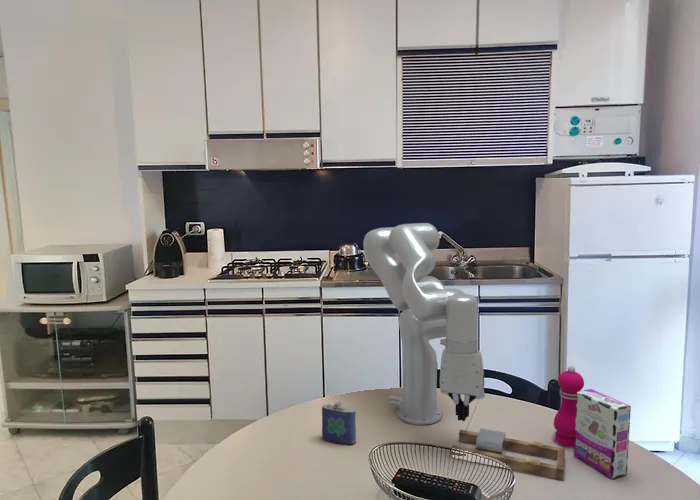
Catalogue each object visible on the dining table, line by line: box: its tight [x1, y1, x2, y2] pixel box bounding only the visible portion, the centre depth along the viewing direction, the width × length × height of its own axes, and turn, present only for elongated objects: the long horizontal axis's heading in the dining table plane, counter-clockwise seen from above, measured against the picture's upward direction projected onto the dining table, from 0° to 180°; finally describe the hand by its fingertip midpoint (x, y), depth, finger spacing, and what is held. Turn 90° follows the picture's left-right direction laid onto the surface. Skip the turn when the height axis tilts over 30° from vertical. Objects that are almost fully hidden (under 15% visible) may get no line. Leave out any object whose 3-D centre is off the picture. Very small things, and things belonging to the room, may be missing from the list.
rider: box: [475, 427, 506, 455], centre depth 127 cm, size 6×6×5 cm
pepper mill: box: [553, 365, 585, 448], centre depth 132 cm, size 7×7×20 cm
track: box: [450, 429, 566, 481], centre depth 125 cm, size 25×10×3 cm, turn 66°
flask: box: [321, 400, 357, 446], centre depth 134 cm, size 9×3×11 cm, turn 68°
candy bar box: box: [573, 388, 632, 480], centre depth 121 cm, size 11×5×16 cm, turn 23°
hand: (462, 418), depth 128 cm, fingers closed
